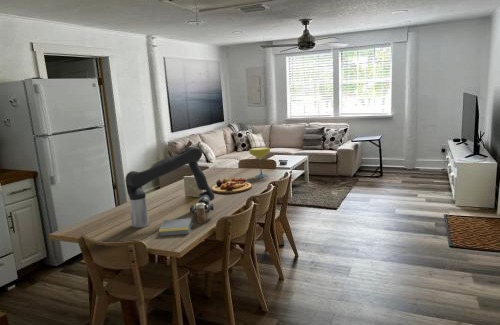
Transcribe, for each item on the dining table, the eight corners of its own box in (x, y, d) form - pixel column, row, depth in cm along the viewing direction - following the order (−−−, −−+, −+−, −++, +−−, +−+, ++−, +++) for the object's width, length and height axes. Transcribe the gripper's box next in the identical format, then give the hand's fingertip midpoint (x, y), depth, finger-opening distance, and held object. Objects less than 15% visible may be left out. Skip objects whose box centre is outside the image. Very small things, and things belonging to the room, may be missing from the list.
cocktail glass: (247, 177, 333) (245, 149, 328) (258, 173, 347) (256, 146, 342) (264, 179, 322) (262, 150, 318) (275, 174, 337) (273, 146, 332)
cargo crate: (197, 222, 226) (195, 205, 224) (198, 220, 231) (196, 203, 228) (205, 222, 226) (203, 204, 224) (206, 219, 230) (204, 202, 228)
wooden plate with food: (243, 194, 280) (243, 184, 278) (204, 193, 290) (204, 183, 289) (257, 184, 309) (256, 174, 308) (221, 183, 320) (220, 174, 319)
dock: (159, 236, 209) (158, 229, 208) (165, 226, 224) (164, 220, 223) (188, 234, 209) (187, 227, 208) (192, 224, 223) (191, 218, 223)
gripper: (192, 198, 241) (188, 206, 225) (214, 197, 241) (211, 204, 225) (193, 210, 243) (189, 218, 227) (215, 208, 242) (213, 216, 227)
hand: (200, 211), depth 226 cm, fingers open, 8 cm apart
